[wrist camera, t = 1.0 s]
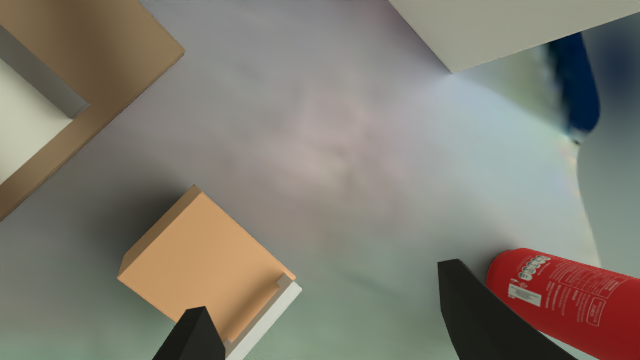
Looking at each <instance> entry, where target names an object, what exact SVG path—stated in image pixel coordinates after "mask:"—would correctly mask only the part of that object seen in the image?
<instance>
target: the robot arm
mask: <svg viewBox="0 0 640 360" xmlns="http://www.w3.org/2000/svg"><path fill="white" fill-rule="evenodd" d="M437 263H438V277H439V291H440V306H441V312H442V315H443V318H444V321H445V324H446V327H447V330H448V333H449V336H450V339H451V341H452V344H453V346H454V348H455V350H456V353H457V355H458V357H459V359H460V360H578V359H576V358H575V357H573V356H572V355H570V354H569V353H568V352H566V351H565V350H563V349H562V348H560V347H559V346H558V345H556V344H555V343H554V342H552V341H551V340H549V339H548V338H547V337H545V336H544V335H543V334H542V333H540V332H539V331H538V330H536V329H535V328H534V327H533V326H531V325H530V324H529V323H528V322H526V321H525V320H524V319H523V318H522V317H520V316H519V315H518V314H517V313H516V312H514V311H513V310H512V309H511V308H510V307H509V306H508V305H506V304H505V303H504V302H503V301H502V300H501V299H500V298H499V297H497V296H496V295H495V294H494V293H493V292H492V291H491V290H490V289H489V288H488V287H487V286H486V285H485V284H484V283H483V282H482V281H480V280H479V279H478V278H477V277H476V276H475V275H474V274H473V273H472V271H471V270H470V269H469V268H468V267H467V266H466V265H465V264H464V263H463V262H462V261H461V260H459V259H453V260H447V261H442V262H437ZM225 352H226V349H225V347H224V344H223V342H222V340H221V338H220V336H219V334H218V332H217V330H216V327H215V325H214V323H213V321H212V319H211V317H210V315H209V313H208V310H207V308H206V306H201V307H196V308H190V309H186V310H185V312H184V313H183V315H182V316H181V318H180V319H179V321H178V322H177V324H176V325H175V326H174V328H173V329H172V331H171V332H170V334H169V335H168V337H167V338H166V340H165V341H164V343H163V344H162V346H161V347H160V349H159V350H158V352H157V353H156V355H155V356H154V358H153V359H152V360H225Z"/></svg>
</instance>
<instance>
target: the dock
mask: <svg viewBox="0 0 640 360" xmlns="http://www.w3.org/2000/svg"><path fill="white" fill-rule="evenodd" d="M184 52H185V49H184V48H183V47H182V46H181V45H180V44H179V43H178V42H177V41H176V40H175V39H174V38H173V37H172V36H171V35H170V34H169V33H168V32H167V31H166V30H165V29H164V28H163V27H162V26H161V25H160V24H159V23H158V22H157V20H156V19H155V18H154V17H153V16H152V15H151V14H150V13H149V12H148V11H147V10H146V9H145V8H144V7H143V6H142V5H141V4H140V3H139V2H138V1H137V0H0V222H1V221H2V220H3V219H4V218H5V217H7V216H8V215H9V214H10V213H11V212H12V211H13V210H14V209H15V208H16V207H17V206H19V205H20V204H21V203H22V202H23V201H24V200H25V199H26V198H27V197H28V196H30V195H31V194H32V193H33V192H34V191H35V190H36V189H37V188H38V187H39V186H41V185H42V184H43V183H44V182H45V181H46V180H47V179H48V178H49V177H50V176H51V175H53V174H54V173H55V172H56V171H57V170H58V169H59V168H60V167H61V166H62V165H64V164H65V163H66V162H67V161H68V160H69V159H70V158H71V157H72V156H73V155H75V154H76V153H77V152H78V151H79V150H80V149H81V148H82V147H83V146H84V145H85V144H87V143H88V142H89V141H90V140H91V139H92V138H93V137H94V136H95V135H96V134H98V133H99V132H100V131H101V130H102V129H103V128H104V127H105V126H106V125H107V124H109V123H110V122H111V121H112V120H113V119H114V118H115V117H116V116H117V115H118V114H119V113H121V112H122V111H123V110H124V109H125V108H126V107H127V106H128V105H129V104H130V103H132V102H133V101H134V100H135V99H136V98H137V97H138V96H139V95H140V94H141V93H143V92H144V91H145V90H146V89H147V88H148V87H149V86H150V85H151V84H152V83H153V82H155V81H156V80H157V79H158V78H159V77H160V76H161V75H162V74H163V73H164V72H166V71H167V70H168V69H169V68H170V67H171V66H172V65H173V64H174V63H175V62H177V61H178V60H179V59H180V58H181V57H182V56H183V55H184Z"/></svg>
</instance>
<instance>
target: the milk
mask: <svg viewBox="0 0 640 360" xmlns="http://www.w3.org/2000/svg"><path fill="white" fill-rule="evenodd" d="M388 1H389V2H390V3H391V4H392V6H393V7H394V8H395V9H396V10H397V11H398V12H399V14H400V15H401V16H402V17H403V18H404V19H405V20H406V21H407V23H408V24H409V25H410V26H411V27H412V28H413V29H414V31H415V32H416V33H417V34H418V35H419V36H420V37H421V39H422V40H423V41H424V42H425V43H426V44H427V45H428V47H429V48H430V49H431V50H432V51H433V52H434V53H435V55H436V56H437V57H438V58H439V59H440V60H441V61H442V63H443V64H444V65H445V66H446V67H447V68H448V69H449V71H450V72H451V73H452V74H454V73H457V72H460V71H463V70H466V69H469V68H472V67H475V66H478V65H481V64H484V63H487V62H490V61H493V60H496V59H499V58H502V57H505V56H508V55H511V54H514V53H517V52H520V51H523V50H526V49H529V48H532V47H535V46H538V45H541V44H544V43H547V42H550V41H553V40H556V39H559V38H562V37H565V36H568V35H571V34H574V33H577V32H580V31H583V30H585V29H588V28H591V27H594V26H598V25H601V24H603V23H607V22H610V21H613V20H616V19H619V18H622V17H624V16H628V15H630V14H633V13H636V12H640V0H388Z"/></svg>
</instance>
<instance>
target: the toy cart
mask: <svg viewBox="0 0 640 360" xmlns="http://www.w3.org/2000/svg"><path fill="white" fill-rule="evenodd" d="M295 278H296V277H295V276H294V275H293V274H292V273H291V272H290V271H289V270H288V269H287V268H286V267H285V266H283V265H282V264H281V263H280V262H279V261H278V260H277V259H276V258H275V257H274V256H273V255H272V254H270V253H269V252H268V251H267V250H266V249H265V248H264V247H263V246H262V245H260V244H259V243H258V242H257V241H256V240H255V239H254V238H253V237H252V236H251V235H249V234H248V233H247V232H246V231H245V230H244V229H243V228H242V227H241V226H240V225H238V224H237V223H236V222H235V221H234V220H233V219H232V218H231V217H230V216H228V215H227V214H226V213H225V212H224V211H223V210H222V209H221V208H220V207H219V206H217V205H216V204H215V203H214V202H213V201H212V200H211V199H210V198H209V197H208V196H206V195H205V194H204V193H203V192H202V191H201V190H200V189H199V188H198V187H197V186H195V185H193V186H192V187H191V188H190V189H189V190H188V191H187V192H186V193H185V194H184V195H183V196H182V197H181V198H180V199H179V200H178V201H177V202H176V203H175V204H174V205H173V206H172V207H171V208H170V209H169V210H168V211H167V212H166V213H165V214H164V215H163V216H162V217H161V218H160V219H159V220H158V221H157V222H156V223H155V224H154V225H153V226H152V227H151V228H150V229H149V230H148V231H147V232H146V233H145V234H144V235H143V236H142V237H141V238H140V239H139V240H138V241H137V242H136V243H135V244H134V245H133V246H132V247H131V248H130V249H129V250H128V251H127V252H126V253H125V254H124V257H123V260H122V263H121V267H120V270H119V273H118V277H117V279H119V280H120V281H121V282H123V283H124V284H125V285H127V286H128V287H129V288H131V289H132V290H133V291H135V292H136V293H137V294H139V295H140V296H141V297H143V298H144V299H145V300H147V301H148V302H149V303H150V304H152V305H153V306H154V307H156V308H157V309H158V310H160V311H161V312H162V313H164V314H165V315H166V316H168V317H169V318H170V319H172V320H173V321H174V322H176V323H177V322H178V321H179V319H180V318H181V316H182V315H183V313H184V312H185V310H186V309H190V308H196V307H201V306H206V308H207V310H208V313H209V315H210V317H211V319H212V321H213V323H214V325H215V327H216V330H217V332H218V334H219V336H220V338H221V340H222V342H223V344H224V347H225V349H226V352H225V360H242V359H243V358H244V357H245V356H246V355H247V353H248V352H249V351H250V350H251V349H252V348H253V346H254V345H255V344H256V343H257V342H258V341H259V339H260V338H261V337H262V336H263V335H264V334H265V332H266V331H267V330H268V329H269V328H270V327H271V325H272V324H273V323H274V322H275V321H276V320H277V318H278V317H279V316H280V315H281V314H282V313H283V311H284V310H285V309H286V308H287V307H288V306H289V304H290V303H291V302H292V301H293V300H294V299H295V297H296V296H297V295H298V294H299V293H300V292H301V290H302V288H301V287H300V286H299V285H297V284H296V283H295V282H294V281H293V280H294V279H295Z"/></svg>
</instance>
